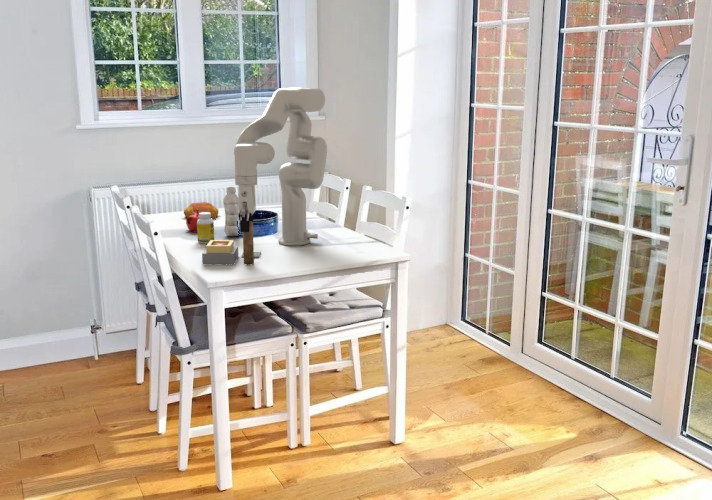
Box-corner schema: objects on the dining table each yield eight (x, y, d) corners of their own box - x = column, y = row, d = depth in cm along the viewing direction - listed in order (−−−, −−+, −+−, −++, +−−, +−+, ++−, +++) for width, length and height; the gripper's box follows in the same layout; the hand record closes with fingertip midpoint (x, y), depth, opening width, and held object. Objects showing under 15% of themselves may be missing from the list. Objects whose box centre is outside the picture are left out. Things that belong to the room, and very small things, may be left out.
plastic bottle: (233, 238, 286) (232, 189, 281) (221, 236, 289) (219, 188, 284) (244, 235, 291) (242, 187, 286) (231, 233, 295) (230, 185, 290)
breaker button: (228, 252, 256) (227, 242, 255) (225, 255, 251) (225, 246, 250) (215, 252, 256) (214, 242, 255) (213, 255, 251) (212, 245, 250)
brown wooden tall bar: (254, 262, 253) (253, 221, 249) (253, 264, 249) (252, 223, 245) (244, 262, 253) (243, 220, 249) (243, 264, 249) (241, 223, 245)
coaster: (261, 253, 264) (261, 251, 264) (259, 258, 258) (259, 256, 258) (243, 253, 264) (243, 251, 264) (241, 257, 258) (241, 256, 258)
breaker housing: (238, 256, 259) (237, 239, 258) (233, 264, 249) (233, 246, 247) (208, 256, 259) (207, 239, 258) (202, 264, 249) (201, 246, 247)
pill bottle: (210, 244, 277) (209, 215, 274) (195, 243, 278) (193, 214, 275) (217, 240, 283) (215, 211, 280) (201, 239, 284) (200, 211, 281)
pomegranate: (212, 228, 305) (211, 207, 302) (208, 233, 295) (207, 211, 293) (188, 227, 304) (188, 206, 302) (184, 232, 295) (183, 210, 292)
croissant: (185, 219, 330) (182, 203, 328) (218, 213, 333) (215, 197, 331) (185, 225, 317) (182, 208, 315) (220, 219, 320) (217, 202, 318)
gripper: (253, 184, 235) (254, 234, 239) (260, 177, 252) (260, 224, 256) (231, 183, 235) (232, 234, 239) (238, 176, 251) (239, 224, 255)
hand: (246, 229), depth 247 cm, fingers open, 9 cm apart
